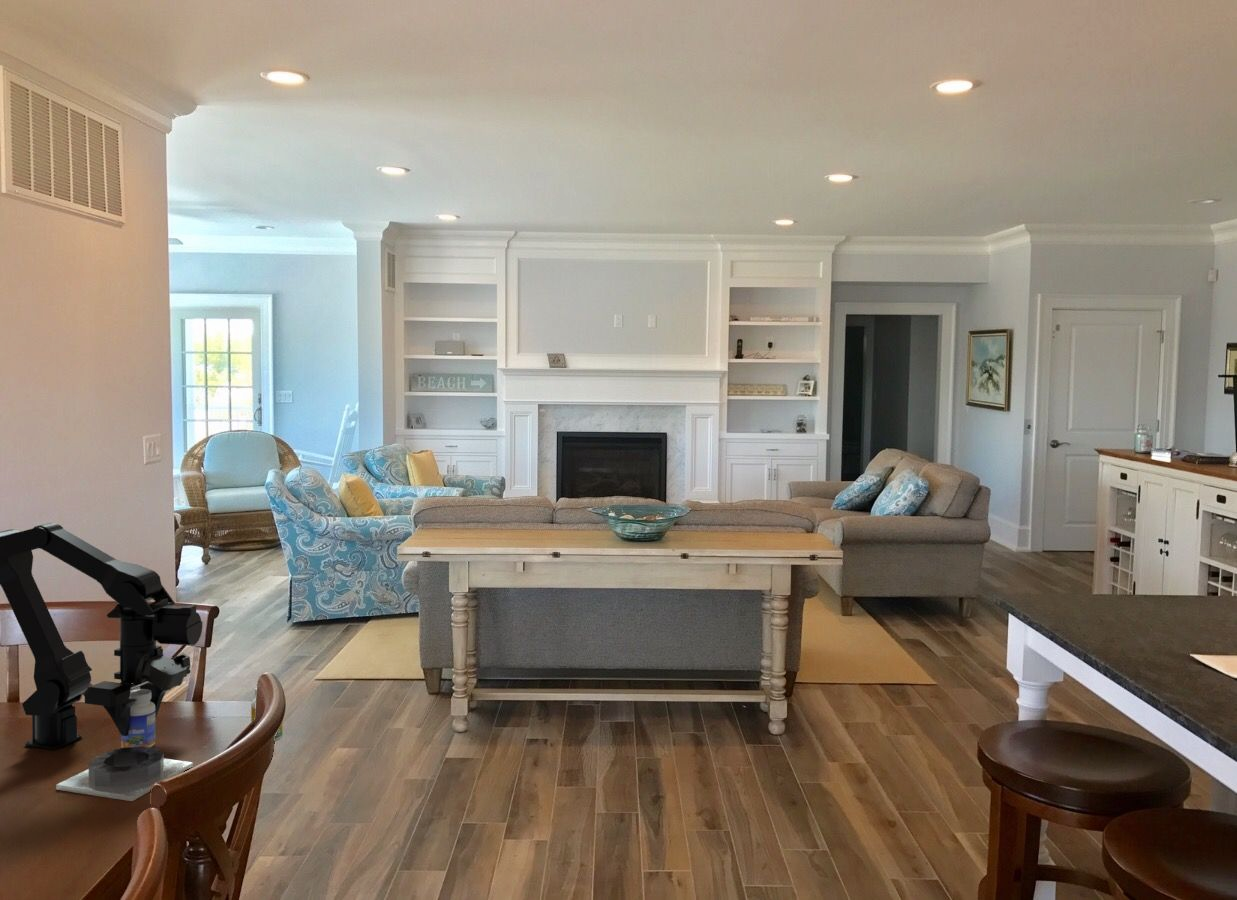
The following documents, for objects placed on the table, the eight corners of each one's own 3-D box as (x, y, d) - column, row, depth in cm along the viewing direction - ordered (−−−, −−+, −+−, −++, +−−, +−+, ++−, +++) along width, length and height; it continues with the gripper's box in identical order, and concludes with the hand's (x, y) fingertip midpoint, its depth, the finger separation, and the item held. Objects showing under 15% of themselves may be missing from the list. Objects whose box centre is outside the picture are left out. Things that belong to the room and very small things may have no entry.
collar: (56, 789, 151) (56, 769, 151) (122, 757, 165) (122, 738, 164) (132, 801, 148) (132, 781, 148) (192, 767, 161) (192, 748, 161)
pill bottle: (114, 751, 167) (114, 696, 166) (131, 740, 173) (131, 686, 172) (145, 752, 167) (145, 697, 166) (161, 741, 172) (161, 688, 172)
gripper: (138, 661, 158) (138, 754, 159) (212, 633, 176) (212, 717, 177) (81, 654, 160) (82, 746, 161) (160, 628, 178) (160, 710, 179)
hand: (138, 729), depth 170 cm, fingers open, 6 cm apart
